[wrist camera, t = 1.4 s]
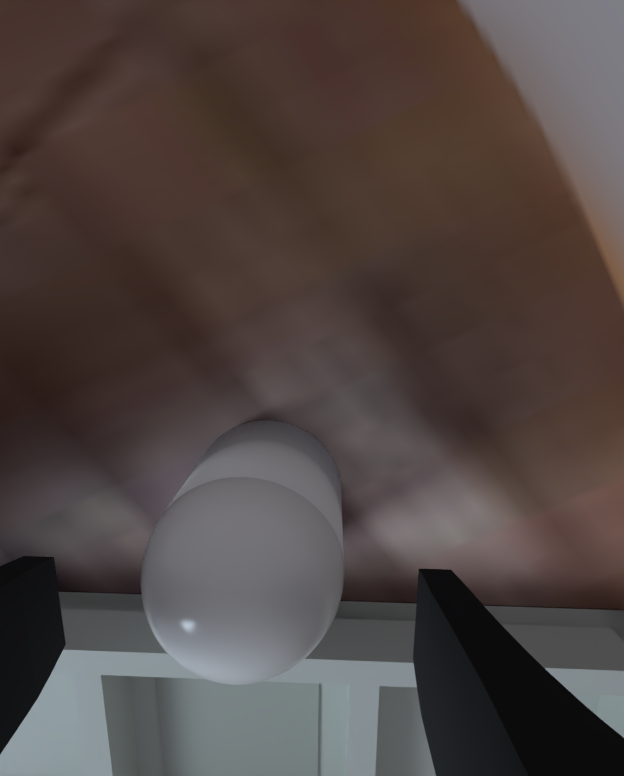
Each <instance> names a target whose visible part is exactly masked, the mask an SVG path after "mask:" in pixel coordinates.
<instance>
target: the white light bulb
mask: <svg viewBox="0 0 624 776" xmlns="http://www.w3.org/2000/svg"><path fill="white" fill-rule="evenodd" d="M343 583H344V550H343V524H342V499H341V481H340V476H339V472H338V469H337V466H336V464H335V462H334V460H333V458H332V456H331V455H330V453H329V452H328V450H327V449H326V448H325V447H324V446H323V444H322V443H321V442H320V441H319V440H317V439H316V438H315V437H314V436H313V435H311V434H309V433H308V432H306V431H305V430H303V429H301V428H299V427H297V426H294V425H291V424H288V423H284V422H279V421H270V420H264V421H254V422H248V423H245V424H242V425H239V426H237V427H234V428H232V429H230V430H229V431H227V432H226V433H224V434H223V435H221V436H220V437H219V438H218V439H217V440H216V441H215V442H214V443H213V444H212V445H211V446H210V448H209V449H208V450H207V452H206V453H205V455H204V456H203V458H202V459H201V460H200V462H199V463H198V465H197V466H196V467H195V469H194V470H193V472H192V473H191V475H190V476H189V477H188V479H187V480H186V482H185V483H184V484H183V486H182V487H181V489H180V490H179V492H178V493H177V494H176V496H175V497H174V499H173V500H172V501H171V503H170V504H169V506H168V507H167V509H166V510H165V511H164V513H163V514H162V516H161V517H160V519H159V520H158V522H157V524H156V526H155V527H154V529H153V531H152V534H151V536H150V538H149V540H148V544H147V547H146V550H145V554H144V557H143V563H142V570H141V594H142V601H143V607H144V611H145V614H146V617H147V620H148V623H149V625H150V627H151V629H152V632H153V634H154V636H155V637H156V639H157V640H158V642H159V644H160V645H161V646H162V647H163V649H164V650H165V651H166V652H167V653H168V654H169V656H170V657H171V658H172V659H173V660H175V661H176V662H177V663H178V664H179V665H180V666H182V667H183V668H184V669H186V670H188V671H189V672H191V673H193V674H194V675H197V676H199V677H201V678H203V679H207V680H210V681H213V682H217V683H222V684H231V685H245V684H253V683H257V682H261V681H265V680H268V679H271V678H274V677H276V676H279V675H281V674H283V673H285V672H287V671H288V670H290V669H291V668H293V667H294V666H296V665H297V664H298V663H300V662H301V661H303V660H304V659H305V658H306V657H307V656H308V655H309V654H310V653H311V652H312V651H313V650H314V649H315V648H316V646H317V645H318V644H319V643H320V642H321V640H322V639H323V638H324V636H325V634H326V633H327V631H328V630H329V628H330V626H331V624H332V622H333V620H334V618H335V615H336V613H337V610H338V607H339V603H340V600H341V596H342V592H343Z"/></svg>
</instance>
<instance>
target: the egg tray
mask: <svg viewBox="0 0 624 776" xmlns="http://www.w3.org/2000/svg"><path fill="white" fill-rule="evenodd" d="M59 599H60V606H61V614H62V621H63V628H64V635H65V642H66V645H65V647H64V649H63V651H62V653H61V655H60V657H59V659H58V661H57V663H56V665H55V667H54V669H53V671H52V673H51V675H50V677H49V679H48V680H47V682H46V684H45V686H44V688H43V690H42V691H41V693H40V695H39V697H38V699H37V700H36V702H35V703H34V705H33V706H32V708H31V709H30V711H29V713H28V714H27V716H26V717H25V719H24V720H23V722H22V723H21V725H20V726H19V727H18V729H17V730H16V732H15V733H14V735H13V736H12V738H11V739H10V741H9V742H8V744H7V745H6V747H5V748H4V750H3V751H2V753H1V754H0V776H436V774H435V770H434V766H433V762H432V758H431V753H430V749H429V745H428V741H427V737H426V733H425V729H424V725H423V721H422V717H421V711H420V704H419V698H418V691H417V684H416V677H415V670H414V662H413V649H414V634H415V620H416V605H417V604H415V603H385V602H355V601H340V603H339V607H338V610H337V613H336V615H335V618H334V620H333V622H332V624H331V626H330V628H329V630H328V631H327V633H326V634H325V636H324V638H323V639H322V640H321V642H320V643H319V644H318V645H317V646H316V648H315V649H314V650H313V651H312V652H311V653H310V654H309V655H308V656H307V657H306V658H305V659H304V660H303V661H301V662H300V663H298V664H297V665H296V666H294V667H293V668H291V669H290V670H288V671H287V672H285V673H283V674H281V675H279V676H276V677H274V678H271V679H268V680H265V681H261V682H257V683H253V684H245V685H231V684H222V683H217V682H213V681H210V680H207V679H203V678H201V677H199V676H197V675H194V674H193V673H191V672H189V671H188V670H186V669H184V668H183V667H182V666H180V665H179V664H178V663H177V662H176V661H175V660H173V659H172V658H171V657H170V656H169V654H168V653H167V652H166V651H165V650H164V649H163V647H162V646H161V645H160V644H159V642H158V640H157V639H156V637H155V636H154V634H153V632H152V629H151V627H150V625H149V623H148V620H147V617H146V614H145V611H144V607H143V601H142V594H113V593H83V592H59ZM485 608H486V609H487V610H488V611H489V612H490V613H491V614H492V615H493V616H494V617H495V618H496V620H497V621H498V622H499V623H500V624H501V625H502V626H503V627H504V628H505V629H506V630H507V631H508V632H509V633H510V634H511V635H512V636H513V637H514V638H515V639H516V640H517V641H518V642H519V643H520V644H521V645H522V646H523V648H524V649H525V650H526V651H527V652H528V653H529V654H530V655H531V656H532V657H533V658H534V659H536V660H537V661H538V662H539V663H540V664H541V665H542V666H543V667H544V668H545V669H546V670H547V671H548V672H549V673H550V674H551V675H552V676H553V677H555V678H556V679H557V680H558V681H559V682H560V683H561V684H562V685H563V686H564V687H565V688H566V689H568V690H569V691H570V692H571V693H572V694H573V695H574V696H575V697H576V698H577V699H578V700H580V701H581V702H582V703H583V704H584V705H585V706H586V707H588V708H589V709H590V710H591V711H592V712H593V713H594V714H596V715H597V716H598V717H599V718H600V719H601V720H603V721H604V722H605V723H606V724H608V725H609V726H610V727H611V728H612V729H614V730H615V731H616V732H617V733H619V734H620V735H621V736H622V737H623V738H624V610H597V609H566V608H536V607H506V606H485Z"/></svg>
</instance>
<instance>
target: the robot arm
mask: <svg viewBox="0 0 624 776" xmlns="http://www.w3.org/2000/svg"><path fill="white" fill-rule="evenodd" d="M65 645H66V642H65V635H64V628H63V621H62V614H61V606H60V599H59V592H58V585H57V578H56V571H55V564H54V557H32V556H23V557H21V558H18V559H16V560H14V561H11V562H9V563H7V564H5V565H2V566H0V754H1V753H2V751H3V750H4V748H5V747H6V745H7V744H8V742H9V741H10V739H11V738H12V736H13V735H14V733H15V732H16V730H17V729H18V727H19V726H20V725H21V723H22V722H23V720H24V719H25V717H26V716H27V714H28V713H29V711H30V709H31V708H32V706H33V705H34V703H35V702H36V700H37V699H38V697H39V695H40V693H41V691H42V690H43V688H44V686H45V684H46V682H47V680H48V679H49V677H50V675H51V673H52V671H53V669H54V667H55V665H56V663H57V661H58V659H59V657H60V655H61V653H62V651H63V649H64V647H65ZM413 662H414V670H415V677H416V684H417V691H418V698H419V704H420V711H421V717H422V721H423V725H424V729H425V733H426V737H427V741H428V745H429V749H430V753H431V758H432V762H433V766H434V770H435V774H436V776H624V738H623V737H622V736H621V735H620V734H619V733H617V732H616V731H615V730H614V729H612V728H611V727H610V726H609V725H608V724H606V723H605V722H604V721H603V720H601V719H600V718H599V717H598V716H597V715H596V714H594V713H593V712H592V711H591V710H590V709H589V708H588V707H586V706H585V705H584V704H583V703H582V702H581V701H580V700H578V699H577V698H576V697H575V696H574V695H573V694H572V693H571V692H570V691H569V690H568V689H566V688H565V687H564V686H563V685H562V684H561V683H560V682H559V681H558V680H557V679H556V678H555V677H553V676H552V675H551V674H550V673H549V672H548V671H547V670H546V669H545V668H544V667H543V666H542V665H541V664H540V663H539V662H538V661H537V660H536V659H534V658H533V657H532V656H531V655H530V654H529V653H528V652H527V651H526V650H525V649H524V648H523V646H522V645H521V644H520V643H519V642H518V641H517V640H516V639H515V638H514V637H513V636H512V635H511V634H510V633H509V632H508V631H507V630H506V629H505V628H504V627H503V626H502V625H501V624H500V623H499V622H498V621H497V620H496V618H495V617H494V616H493V615H492V614H491V613H490V612H489V611H488V610H487V609H486V608H485V606H484V605H483V604H482V603H481V602H480V601H479V600H478V599H477V598H476V597H475V595H474V594H473V593H472V592H471V591H470V590H469V589H468V588H467V587H466V586H465V584H464V583H463V582H462V581H461V580H460V579H459V578H458V577H457V576H456V575H455V574H454V572H453V571H452V570H442V569H419V575H418V590H417V605H416V620H415V634H414V649H413Z"/></svg>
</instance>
